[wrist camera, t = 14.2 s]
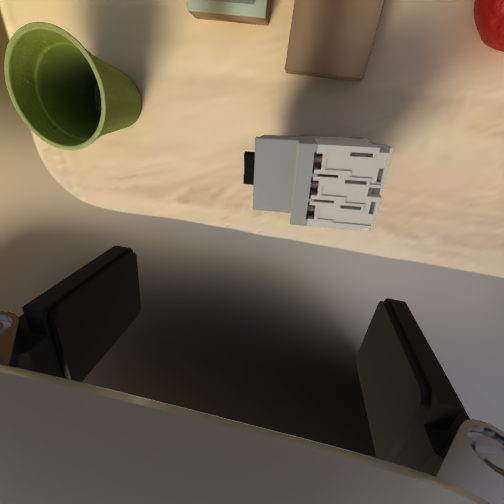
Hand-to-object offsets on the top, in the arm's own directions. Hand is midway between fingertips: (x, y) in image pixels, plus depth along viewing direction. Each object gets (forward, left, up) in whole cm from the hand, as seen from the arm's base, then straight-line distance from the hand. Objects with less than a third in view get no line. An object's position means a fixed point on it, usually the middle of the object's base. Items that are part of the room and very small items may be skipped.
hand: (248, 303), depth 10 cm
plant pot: (+26, -6, -32) cm, 42 cm away
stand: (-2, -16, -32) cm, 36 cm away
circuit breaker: (-2, -1, -32) cm, 33 cm away
